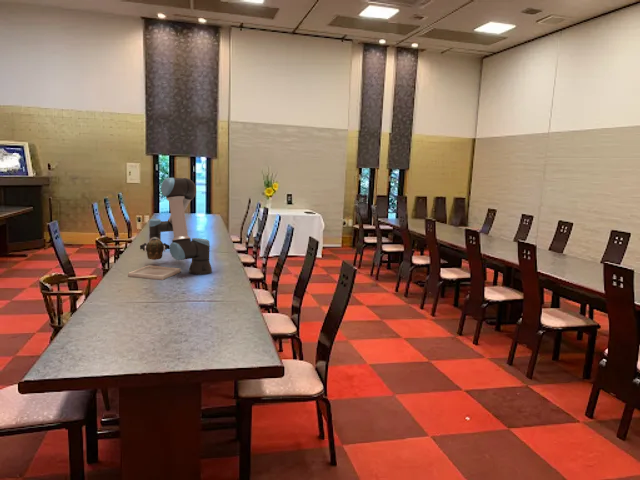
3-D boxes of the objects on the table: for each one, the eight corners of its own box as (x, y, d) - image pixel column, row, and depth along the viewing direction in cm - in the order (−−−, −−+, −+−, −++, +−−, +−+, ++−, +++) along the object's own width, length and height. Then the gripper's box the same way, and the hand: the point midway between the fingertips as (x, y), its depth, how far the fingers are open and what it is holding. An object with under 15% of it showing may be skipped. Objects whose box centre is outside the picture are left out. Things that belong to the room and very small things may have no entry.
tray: (180, 272, 320) (180, 268, 320) (162, 280, 297) (162, 276, 296) (148, 268, 324) (148, 265, 324) (127, 276, 301) (127, 272, 301)
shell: (166, 257, 314) (166, 239, 312) (159, 260, 303) (159, 242, 301) (150, 255, 315) (150, 238, 313) (143, 259, 304) (143, 240, 302)
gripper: (172, 248, 329) (173, 255, 309) (136, 249, 321) (135, 255, 301) (172, 238, 328) (174, 243, 308) (136, 238, 320) (135, 243, 300)
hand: (154, 249), depth 304 cm, fingers closed on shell, 11 cm apart
